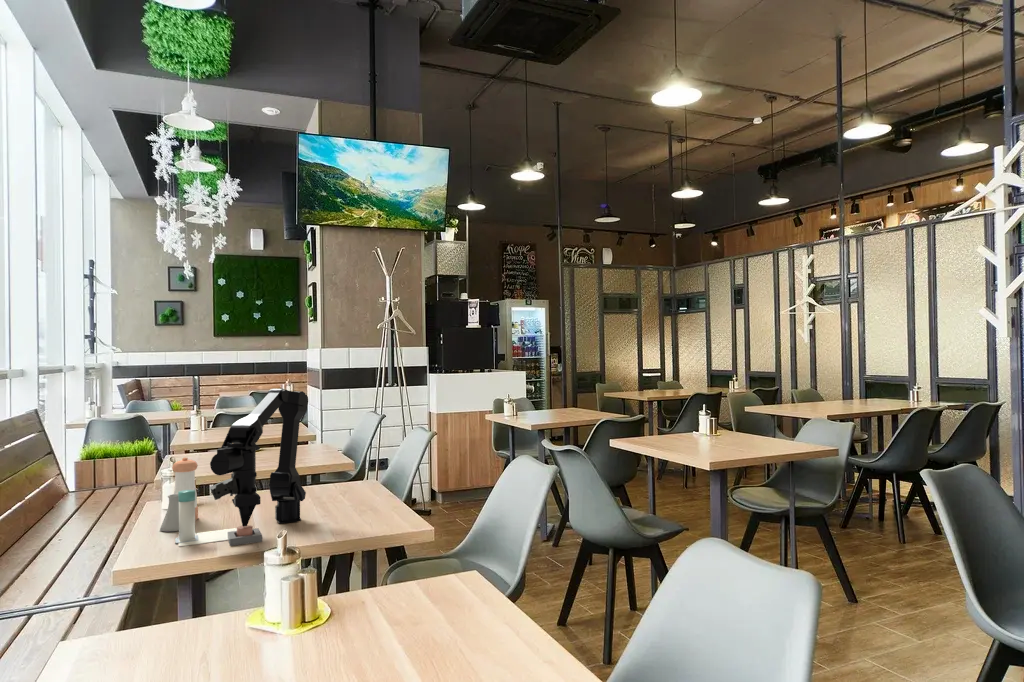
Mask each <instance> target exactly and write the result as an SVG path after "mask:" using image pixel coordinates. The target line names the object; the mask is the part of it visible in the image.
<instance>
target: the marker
mask: <svg viewBox="0 0 1024 682" xmlns="http://www.w3.org/2000/svg"><path fill="white" fill-rule="evenodd" d="M178 501H179V531H178V538H179V541H189V540H193V539H195V533H196V520H195V490H183V491H179V492H178Z"/></svg>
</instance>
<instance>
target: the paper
mask: <svg viewBox="0 0 1024 682" xmlns="http://www.w3.org/2000/svg"><path fill="white" fill-rule="evenodd" d="M231 531H237V527H235V528H226V529H217V530H211V531H202V532H195V539H193V540H189V541H179V537H175V541H174V542H175V544H178V547H179V548H180V547H188V546H189V547H190V546H196V545H204V544H209V543H210V544H211V543H218V542H226V541H228V532H231Z"/></svg>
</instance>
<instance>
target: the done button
mask: <svg viewBox="0 0 1024 682" xmlns="http://www.w3.org/2000/svg"><path fill="white" fill-rule="evenodd" d="M236 528H237V537H239V536H246V535H253V529H254V528H253V525H248V524H247V526H242V525H241V526H238V527H236Z"/></svg>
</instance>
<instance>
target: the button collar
mask: <svg viewBox="0 0 1024 682" xmlns="http://www.w3.org/2000/svg"><path fill="white" fill-rule="evenodd" d="M227 541H228V544H229V546H230V547H231V546H239V545H246V544H254V543H262V542H263V534H262V532H261V530H260V529H259V527H258V528H257V527H256V528H255V527H254V528H253V535H246V536H239V537H237V531H231V532H228V540H227Z"/></svg>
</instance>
